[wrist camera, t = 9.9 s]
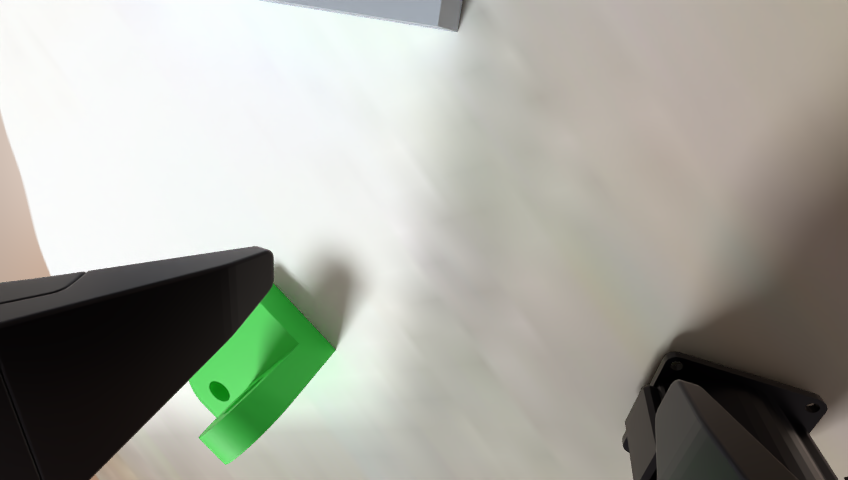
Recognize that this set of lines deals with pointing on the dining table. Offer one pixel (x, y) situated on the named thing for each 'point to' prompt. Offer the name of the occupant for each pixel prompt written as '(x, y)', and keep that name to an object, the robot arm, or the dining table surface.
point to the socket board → (392, 10)
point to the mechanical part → (258, 374)
